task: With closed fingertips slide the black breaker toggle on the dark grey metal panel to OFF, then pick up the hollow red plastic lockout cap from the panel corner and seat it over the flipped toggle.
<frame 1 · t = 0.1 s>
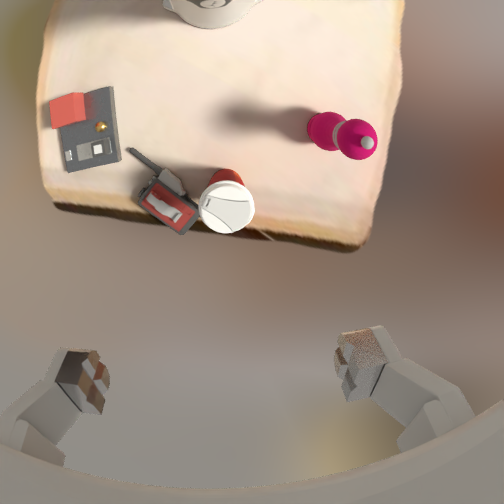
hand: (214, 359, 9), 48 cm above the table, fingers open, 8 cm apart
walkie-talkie: (161, 190, 54), on the table
breaker toggle: (100, 148, 44), point 4 cm above the table, slide at 0.0 cm
coffee cup: (226, 183, 54), on the table
pepper mill: (322, 129, 50), on the table
lockout cap: (72, 109, 41), point 2 cm above the table, touching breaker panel
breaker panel: (90, 129, 45), on the table
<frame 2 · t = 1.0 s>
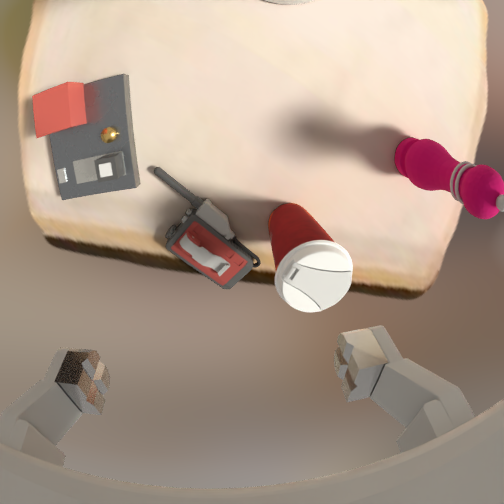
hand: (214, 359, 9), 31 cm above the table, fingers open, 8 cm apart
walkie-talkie: (198, 227, 40), on the table
breaker toggle: (109, 167, 31), point 4 cm above the table, slide at 0.0 cm
coffee cup: (289, 222, 41), on the table
pepper mill: (409, 157, 37), on the table
lockout cap: (67, 108, 27), point 2 cm above the table, touching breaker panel
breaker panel: (93, 137, 32), on the table
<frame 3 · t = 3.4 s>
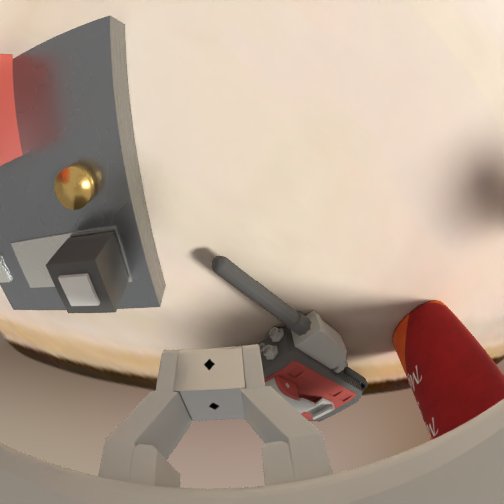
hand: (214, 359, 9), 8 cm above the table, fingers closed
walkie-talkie: (282, 347, 22), on the table
breaker toggle: (88, 274, 12), point 4 cm above the table, slide at 0.0 cm
coffee cup: (419, 324, 22), on the table
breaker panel: (46, 183, 13), on the table
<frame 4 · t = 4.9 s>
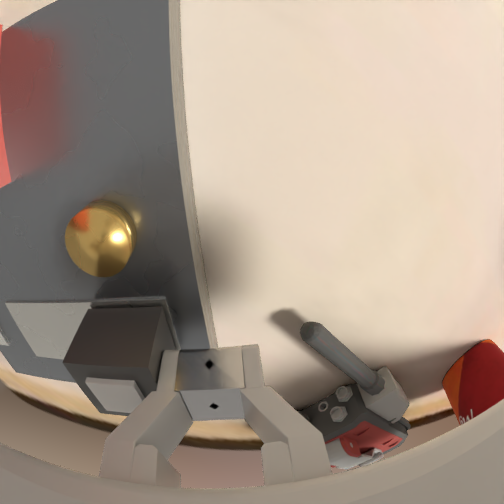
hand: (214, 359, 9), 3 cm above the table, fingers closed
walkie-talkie: (339, 401, 18), on the table
breaker toggle: (126, 366, 8), point 4 cm above the table, slide at 0.0 cm, touching gripper
coffee cup: (467, 363, 18), on the table
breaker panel: (50, 220, 9), on the table
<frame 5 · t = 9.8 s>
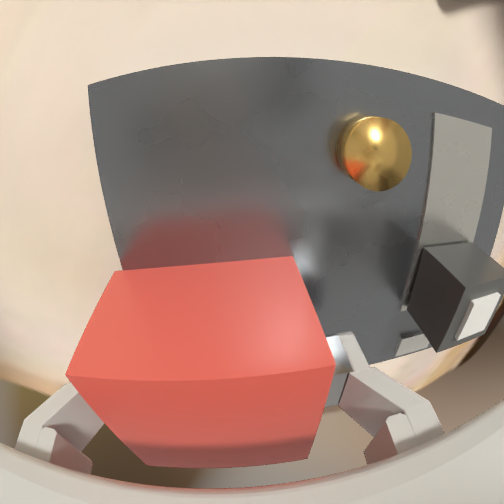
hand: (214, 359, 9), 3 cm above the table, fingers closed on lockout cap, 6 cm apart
breaker toggle: (459, 295, 8), point 4 cm above the table, slide at 4.6 cm
lockout cap: (211, 331, 10), point 2 cm above the table, touching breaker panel, gripper
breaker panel: (337, 231, 11), on the table
when the fingers open (4 cm above the table, at t = 15.7 s): lockout cap stays where it is, resting on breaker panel.
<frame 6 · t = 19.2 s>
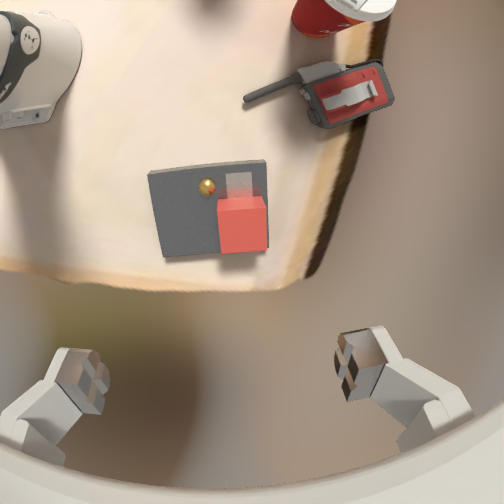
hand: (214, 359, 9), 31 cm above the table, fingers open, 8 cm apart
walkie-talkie: (322, 94, 33), on the table
coffee cup: (313, 19, 27), on the table
lockout cap: (241, 217, 38), point 2 cm above the table, touching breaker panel
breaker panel: (210, 206, 39), on the table
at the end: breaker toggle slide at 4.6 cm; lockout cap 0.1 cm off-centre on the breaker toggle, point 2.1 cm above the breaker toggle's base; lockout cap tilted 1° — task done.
